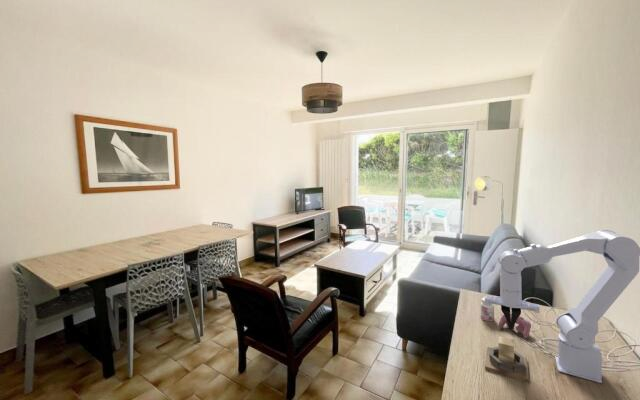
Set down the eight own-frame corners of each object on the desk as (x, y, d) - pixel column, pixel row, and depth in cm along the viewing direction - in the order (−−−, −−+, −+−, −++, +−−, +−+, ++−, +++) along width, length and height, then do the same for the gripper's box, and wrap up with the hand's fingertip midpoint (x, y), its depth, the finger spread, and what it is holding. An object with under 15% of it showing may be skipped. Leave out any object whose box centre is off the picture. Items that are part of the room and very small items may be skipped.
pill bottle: (481, 320, 112) (480, 300, 112) (480, 314, 117) (480, 296, 116) (494, 322, 110) (494, 302, 109) (493, 316, 114) (493, 297, 114)
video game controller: (530, 339, 100) (533, 320, 102) (526, 339, 98) (529, 319, 99) (500, 328, 108) (503, 311, 110) (496, 327, 106) (499, 309, 107)
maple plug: (513, 360, 87) (513, 339, 86) (514, 367, 84) (514, 346, 83) (499, 356, 89) (498, 336, 89) (498, 363, 86) (498, 342, 85)
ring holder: (527, 360, 88) (527, 351, 88) (528, 382, 79) (528, 373, 79) (487, 349, 94) (487, 341, 94) (485, 369, 85) (484, 360, 85)
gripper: (537, 287, 87) (537, 327, 88) (485, 280, 95) (486, 316, 97) (540, 296, 81) (540, 338, 83) (484, 288, 90) (484, 326, 91)
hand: (511, 327), depth 89 cm, fingers closed
